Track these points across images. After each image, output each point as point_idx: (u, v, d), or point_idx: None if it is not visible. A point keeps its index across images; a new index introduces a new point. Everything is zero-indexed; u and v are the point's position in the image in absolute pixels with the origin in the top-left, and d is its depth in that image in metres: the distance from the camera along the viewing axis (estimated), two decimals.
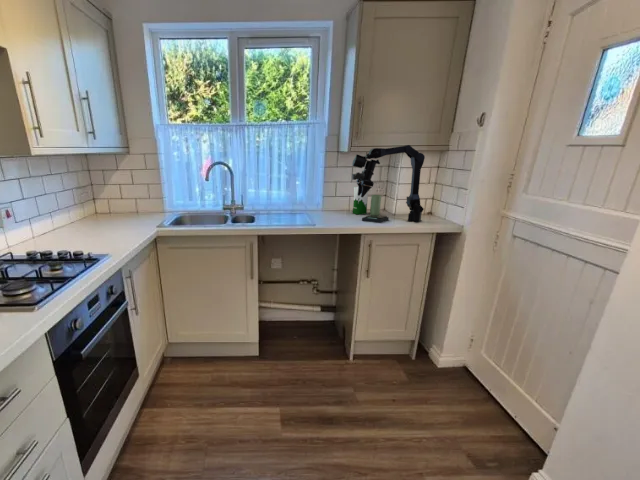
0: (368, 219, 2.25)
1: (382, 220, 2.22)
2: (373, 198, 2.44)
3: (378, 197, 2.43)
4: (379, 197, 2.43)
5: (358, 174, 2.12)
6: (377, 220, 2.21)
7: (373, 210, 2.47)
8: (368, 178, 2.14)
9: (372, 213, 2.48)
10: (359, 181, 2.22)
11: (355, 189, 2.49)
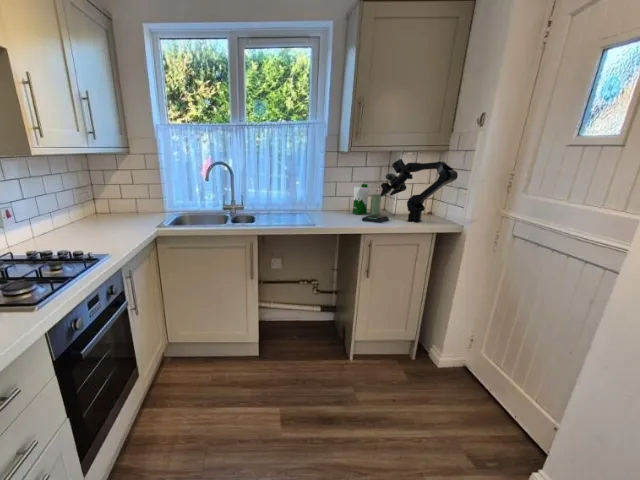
0: (368, 219, 2.25)
1: (382, 220, 2.22)
2: (373, 198, 2.44)
3: (378, 197, 2.43)
4: (379, 197, 2.43)
5: (388, 175, 2.29)
6: (377, 220, 2.21)
7: (373, 210, 2.47)
8: (394, 184, 2.28)
9: (372, 213, 2.48)
10: None
11: (355, 189, 2.49)
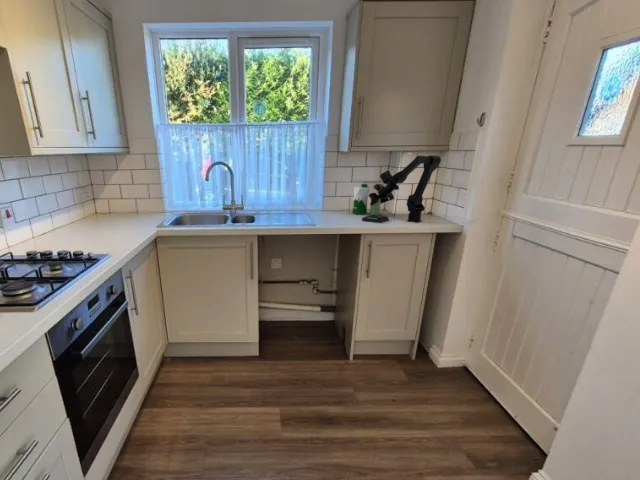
0: (368, 219, 2.25)
1: (382, 220, 2.22)
2: None
3: None
4: None
5: (375, 186, 2.39)
6: (377, 220, 2.21)
7: (373, 210, 2.47)
8: (381, 194, 2.38)
9: (372, 213, 2.48)
10: None
11: (355, 189, 2.49)
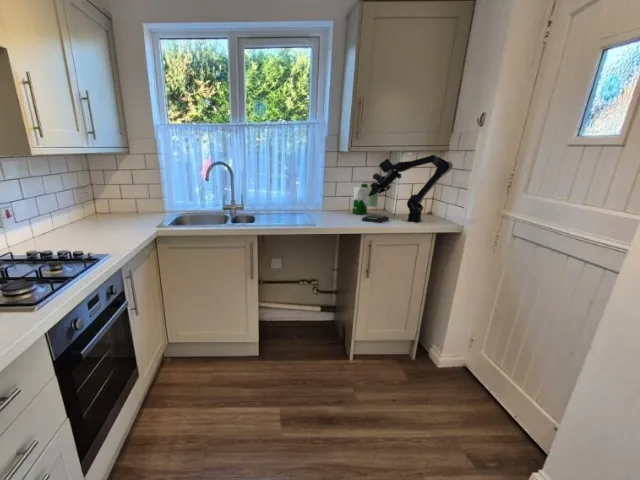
0: (368, 219, 2.25)
1: (382, 220, 2.22)
2: None
3: None
4: None
5: (376, 175, 2.28)
6: (377, 220, 2.21)
7: (372, 201, 2.35)
8: (382, 184, 2.28)
9: (371, 204, 2.36)
10: None
11: (355, 189, 2.49)
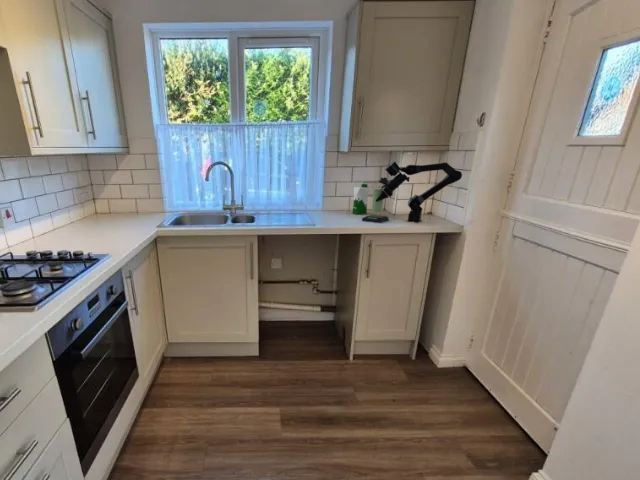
0: (368, 219, 2.25)
1: (382, 220, 2.22)
2: (379, 193, 2.20)
3: None
4: None
5: (385, 179, 2.16)
6: (377, 220, 2.21)
7: (379, 206, 2.23)
8: (391, 188, 2.18)
9: (378, 210, 2.23)
10: (383, 188, 2.25)
11: (355, 189, 2.49)
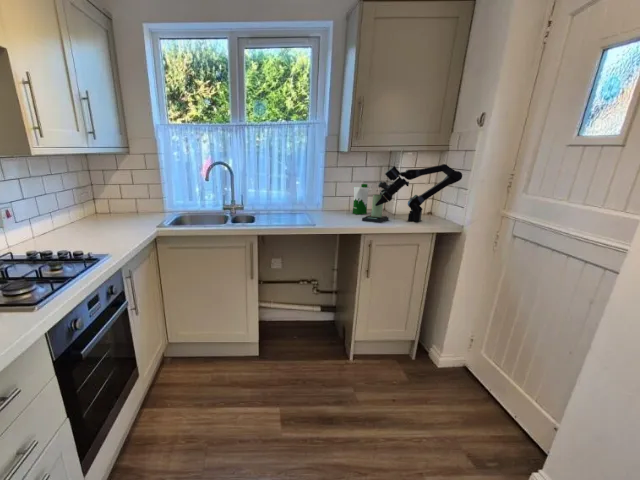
0: (368, 219, 2.25)
1: (382, 220, 2.22)
2: (379, 198, 2.21)
3: None
4: None
5: (384, 184, 2.16)
6: (377, 220, 2.21)
7: (379, 211, 2.24)
8: (390, 193, 2.19)
9: (378, 215, 2.25)
10: (382, 191, 2.27)
11: (355, 189, 2.49)
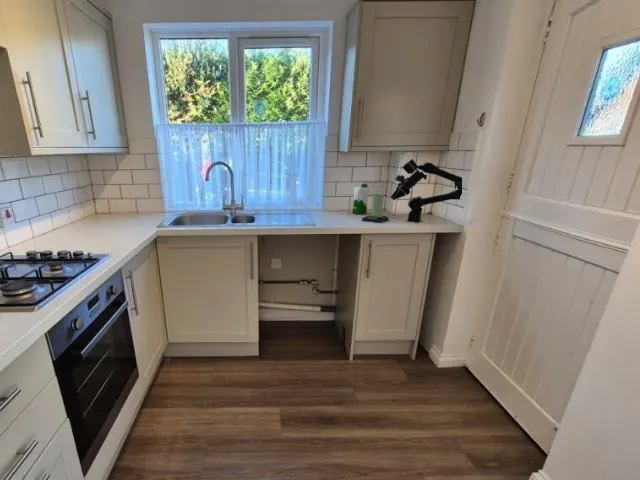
0: (368, 219, 2.25)
1: (382, 220, 2.22)
2: (379, 198, 2.21)
3: (383, 197, 2.22)
4: (383, 197, 2.23)
5: (402, 177, 2.13)
6: (377, 220, 2.21)
7: (379, 211, 2.24)
8: (408, 186, 2.15)
9: (378, 215, 2.25)
10: (399, 185, 2.24)
11: (355, 189, 2.49)
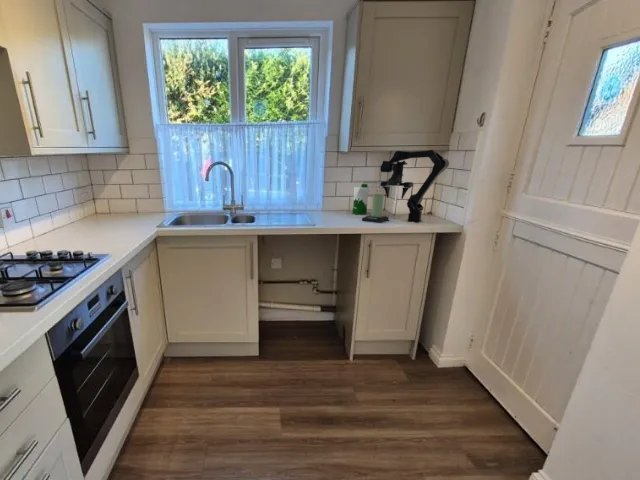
0: (368, 219, 2.25)
1: (382, 220, 2.22)
2: (379, 198, 2.21)
3: (383, 197, 2.22)
4: (383, 197, 2.23)
5: (399, 179, 2.17)
6: (377, 220, 2.21)
7: (379, 211, 2.24)
8: (401, 180, 2.23)
9: (378, 215, 2.25)
10: (386, 184, 2.27)
11: (355, 189, 2.49)
